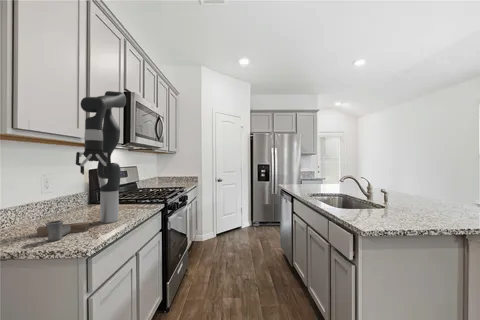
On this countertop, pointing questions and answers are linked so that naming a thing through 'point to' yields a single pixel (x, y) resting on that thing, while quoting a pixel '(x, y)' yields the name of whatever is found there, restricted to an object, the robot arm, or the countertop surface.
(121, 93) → the robot arm
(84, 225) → the banded brown beam
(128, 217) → the countertop surface
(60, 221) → the pipe
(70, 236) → the countertop surface
